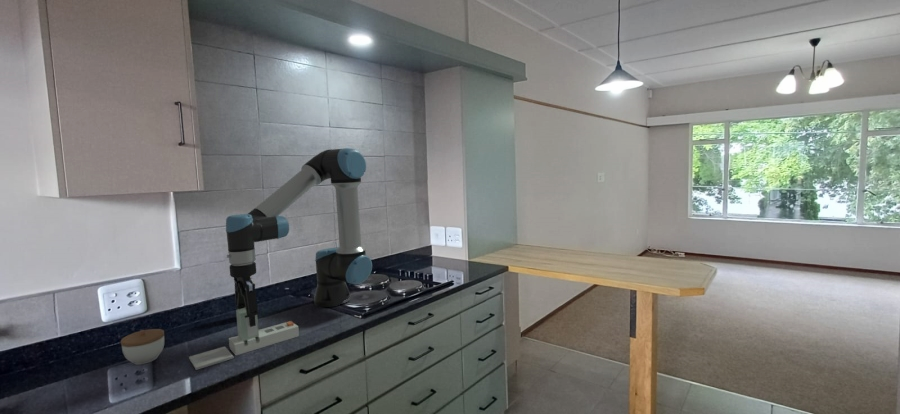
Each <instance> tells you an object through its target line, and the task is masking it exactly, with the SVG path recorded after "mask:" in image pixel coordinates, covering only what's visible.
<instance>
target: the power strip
mask: <svg viewBox="0 0 900 414" xmlns="http://www.w3.org/2000/svg"><path fill="white" fill-rule="evenodd" d="M299 330H300V329H299V325H297V324H296V323H294V322H293V321H292V320H289V321H285V322H282V323H278V324H274V325H271V326H268V327H263V328H260V329H258V331H259V337H256V339H255V338H252V339H248V340H247V344H244V341H242V340H241V339H240V338H239V337H238V335H236V336H231V337H229V338H228V343H229V344H228V346H229V350H231V351H230V352H232V353H233V354H234V355H235V356H239V355H242V354H246V353H249V352H252V351H255V350H258V349H262V348H265V347H269V346H272V345H274V344H278V343H281V342H285V341H289V340H290V339H294V338H297V337H299V336H300V331H299Z"/></svg>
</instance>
